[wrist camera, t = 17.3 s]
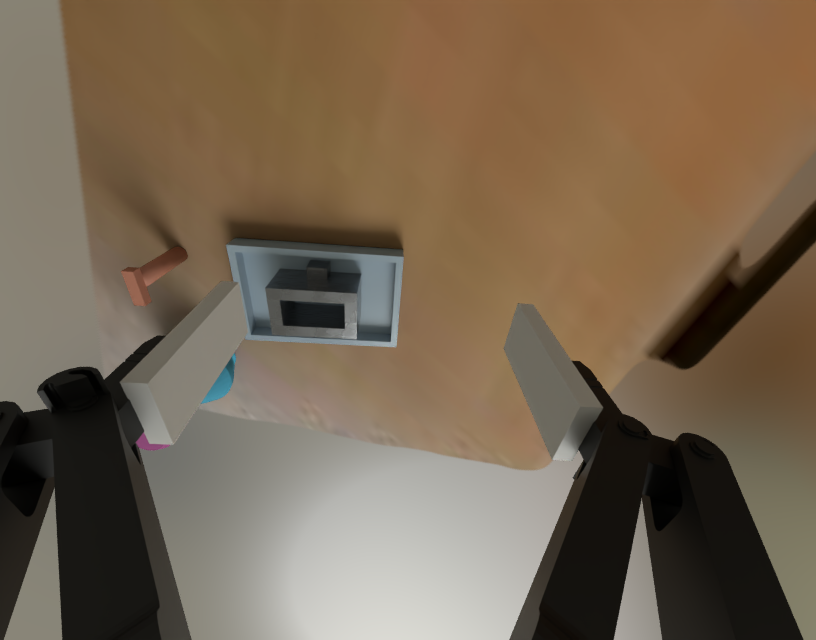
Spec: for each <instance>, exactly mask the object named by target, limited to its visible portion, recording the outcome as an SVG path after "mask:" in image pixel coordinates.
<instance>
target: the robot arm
mask: <svg viewBox="0 0 816 640" xmlns="http://www.w3.org/2000/svg"><path fill="white" fill-rule="evenodd" d="M247 333H248V329H247V323H246V318H245V313H244V308H243V302H242V297H241V292H240V286H239V282H228V281H221V282H220V283H219V284H218V285H217V286H216V287H215V288H214V289H213V290H212V291H211V292H210V293H209V294H208V295H207V296H206V297H205V298H204V299H203V300H202V301H201V302H200V303H199V304H198V305H197V306H196V307H195V308H194V309H193V310H192V311H191V312H190V313H189V314H188V315H187V316H186V317H185V318H184V319H183V320H182V321H181V322H180V323H179V324H178V325H177V326H176V327H175V328H174V329H173V330H172V331H171V332H170V333H169V334H168V335H167V336H156V337H154V338H152V339H150V340H148V341H147V342H145V343H143V344H142V345H141V346H140V347H139V348H138V349H137V350H136V351H135V352H133V353H134V354H131V355H130V356H129V357H128V358H127V359H126V360H125V362H123V363H122V364H121V365H120V366H119V367H117V368H116V369H115V370H114V371H113V372H112V373H111V374H110V375H109V376H108V377H107V378H106V379H105V380H104V379H103V377H102V375H101V373H100V372H99V371H98V369H96V368H92V367H77V368H73V369H68V370H65V371H62V372H60V373H57V374H55V375H53V376H51V377H50V378H48V379H46V380H45V381H44V382H43V383H42V384H41V385H40V386H39V388H38V390H37V393H38V395H39V396H40V398H41V399H42V400H43V402H44V404H45V405H46V406H47V408H48V409H43V410H36V411H30V412H24V413H23V411H22V410H21V409H20V407H19V406H18V405H17V404H16V403H14V402H8V401H3V402H0V640H4V637H5V634H6V631H7V628H8V625H9V622H10V619H11V616H12V613H13V610H14V607H15V604H16V601H17V598H18V595H19V592H20V589H21V586H22V582H23V579H24V577H25V574H26V571H27V568H28V565H29V562H30V559H31V556H32V553H33V550H34V547H35V544H36V541H37V538H38V535H39V532H40V529H41V526H42V523H43V519H44V517H45V514H46V511H47V508H48V505H49V502H50V499H51V496H52V493H53V490H54V487H55V499H56V500H55V501H56V521H57V539H58V540H57V541H58V558H59V559H58V560H59V579H60V599H61V619H62V637H63V638H62V640H191V636H190V633H189V629H188V626H187V622H186V618H185V614H184V611H183V607H182V604H181V600H180V596H179V592H178V589H177V585H176V582H175V578H174V574H173V571H172V567H171V563H170V560H169V556H168V552H167V549H166V545H165V541H164V538H163V534H162V530H161V527H160V523H159V519H158V516H157V512H156V508H155V505H154V501H153V497H152V494H151V490H150V487H149V483H148V479H147V476H146V472H145V469H144V465H143V461H142V458H141V454H140V450H139V447H138V445H137V443H136V441H137V440H138V439H139V438H140V436H141V435H142V434H143V432H144V434H145V436H146V438H147V440H148V442H149V444H168V445H174V443H175V442H176V440H177V439H178V437H179V436H180V434H181V433H182V431H183V430H184V428H185V427H186V425H187V424H188V422H189V420H190V419H191V417H192V416H193V415H194V413H195V411H196V410H197V408H198V407H199V405H200V404H201V402H202V401H203V399H204V398H205V396H206V395H207V393H208V392H209V390H210V389H211V387H212V386H213V384H214V383H215V381H216V380H217V378H218V377H219V375H220V374H221V372H222V371H223V369H224V368H225V366H226V365H227V363H228V362H229V360H230V359H231V357H232V356H233V354H234V352H235V351H236V349H237V348H238V346H239V345H240V343H241V342H242V340H243V339H244V337H245V336H246V334H247ZM504 350H505V353H506V355H507V357H508V360H509V362H510V364H511V366H512V369H513V371H514V373H515V376H516V378H517V380H518V383H519V385H520V387H521V389H522V392H523V394H524V396H525V399H526V401H527V403H528V406H529V408H530V410H531V412H532V415H533V417H534V419H535V422H536V424H537V426H538V429H539V431H540V433H541V435H542V438H543V440H544V442H545V445H546V447H547V449H548V452H549V454H550V456H551V458H552V460H567V461H572V460H573V459H574V457H575V455H576V454H577V452H578V450H579V451H580V453H581V455H582V457H583V459H584V460H583V462H582V463H581V465H580V467H579V468H578V470H577V472H576V473H575V475H574V477H573V479H575V480H574V482H573V485H572V487H571V490H570V492H569V495H568V497H567V500H566V502H565V504H564V507H563V510H562V512H561V514H560V517H559V519H558V522H557V524H556V526H555V529H554V531H553V534H552V537H551V539H550V542H549V544H548V546H547V549H546V551H545V553H544V556H543V558H542V561H541V563H540V566H539V568H538V571H537V573H536V576H535V578H534V581H533V583H532V585H531V588H530V590H529V593H528V595H527V598H526V600H525V603H524V605H523V608H522V610H521V613H520V615H519V617H518V620H517V622H516V625H515V627H514V630H513V632H512V635H511V637H510V640H614V635H615V630H616V625H617V620H618V615H619V610H620V604H621V600H622V594H623V589H624V584H625V579H626V574H627V569H628V564H629V559H630V554H631V549H632V544H633V538H634V534H635V528H636V523H637V519H638V513H639V508H640V503H641V498H642V502H643V509H644V516H645V523H646V529H647V537H648V543H649V551H650V558H651V563H652V571H653V578H654V585H655V592H656V599H657V606H658V613H659V620H660V627H661V634H662V640H803V637H802V635H801V633H800V630H799V628H798V626H797V623H796V621H795V619H794V616H793V614H792V611H791V609H790V607H789V604H788V602H787V599H786V597H785V595H784V592H783V590H782V587H781V585H780V583H779V581H778V578H777V576H776V573H775V571H774V568H773V566H772V564H771V561H770V559H769V557H768V554H767V552H766V549H765V547H764V545H763V542H762V540H761V537H760V535H759V533H758V530H757V528H756V526H755V523H754V521H753V518H752V516H751V514H750V511H749V509H748V507H747V504H746V502H745V499H744V497H743V495H742V492H741V490H740V488H739V485H738V483H737V480H736V478H735V476H734V474H733V471H732V469H731V466H730V464H729V461H728V459H727V457H726V456H725V454H724V453H723V452H722V451H721V450H720V449H719V448H718V447H717V446H716V445H715V444H714V443H712V442H710V441H709V440H707V439H706V438H703V437H701V436H699V435H696V434H691V433H682V434H681V435H680V436H679V437H678V438H677V439H676V440H675V441H672V440H668V439H665V438H662V437H658V436H655V435H652V434H651V432H650V431H649V429H648V428H647V427H646V426H645V425H644V424H643V423H641V422H640V421H638V420H637V419H635V418H633V417H630V416H628V415H625V414H622V413H621V411H620V410H619V408H618V407H617V406H616V404H615V403H614V402H613V400H612V399H611V398H610V396H609V395H608V393H607V392H606V391H605V389H604V388H602V387H603V386H602V385H601V384H600V382H599V381H597V378H596V377H595V375H594V374H593V373H592V371H591V370H590V369H589V368H588V367H586V366H585V365H584V364H582V363H581V362H580V361H571V359H570V358H569V357H568V355H567V354H566V352H565V351H564V349H563V348H562V346H561V345H560V343H559V342H558V340H557V339H556V337H555V336H554V334H553V333H552V331H551V330H550V329H549V327H548V326H547V324H546V323H545V321H544V320H543V318H542V317H541V315H540V314H539V312H538V311H537V309H536V308H535V306H534V305H533V304H520V303H518V305H517V308H516V311H515V314H514V317H513V320H512V324H511V327H510V330H509V333H508V336H507V340H506V343H505V346H504Z"/></svg>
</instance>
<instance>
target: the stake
mask: <svg viewBox="0 0 816 640" xmlns="http://www.w3.org/2000/svg"><path fill="white" fill-rule="evenodd" d="M187 257H188V255H187V252H186V251H185V250H184V249H183V248H181V247H174V248H172V249H170V250H169V251H167V252H165V253H164V254H162V255H160V256H159V257H157V258H155V259H154V260H152V261H150V262H149V263H147V264H145V265H144V266H142V267H140V268H133V267H128V268H126V269H124V270H122V271H121V272H122V275H123V277H124V280H125V283H126V285H127V288H128V290H129V293H130V295H131V298H132V301H133V303H134V305H138V306H146V305H147V304H149V303H150V302H151V298H150V296H149V293H148V290H147V286H149V285H150V284H151V283H153V282H154V281H156V280H157V279H159V278H160V277H162V276H163V275H164V274H166V273H167V272H169V271H170V270H172V269H173V268H175V267H176V266H177V265H179V264H180V263H182V262H183V261H185V260H186V259H187Z"/></svg>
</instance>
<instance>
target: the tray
mask: <svg viewBox="0 0 816 640" xmlns="http://www.w3.org/2000/svg"><path fill="white" fill-rule="evenodd" d="M226 247H227V252H228V256H229V261H230V266H231V271H232V276H233V281H234V282H239V286H240V292H241V297H242V302H243V308H244V313H245V318H246V323H247V329H248V333H247V334H246V336H245V339H246V340H263V341H283V342H303V343H322V344H342V345H362V346H382V347H396V346H397V333H398V321H399V308H400V295H401V283H402V270H403V257H404V256H403V249H389V248H375V247H360V246H346V245H332V244H317V243H303V242H288V241H274V240H260V239H245V238H234V239H233V240H232V241H230V242H229V243H228V244H227V245H226ZM310 260H322V261H330V262H331V272H344V273H360V274H362V278H361V319H360V325H359V330H358V336H357V339H340V338H321V337H301V336H282V335H272V330H271V323H270V317H269V310H268V304H267V298H266V291H265V287H266V286H267V285H268V284H269V282H270V281H271V280H272V278H273V277H274V276H275V274H276V273H277V272H278V270H279V269H280V268H283V269H298V270H306V266H307V265H308V263H309V261H310ZM295 303H302V304H319V305H336V306H345V304H337V303H320V302H303V301H295Z"/></svg>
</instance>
